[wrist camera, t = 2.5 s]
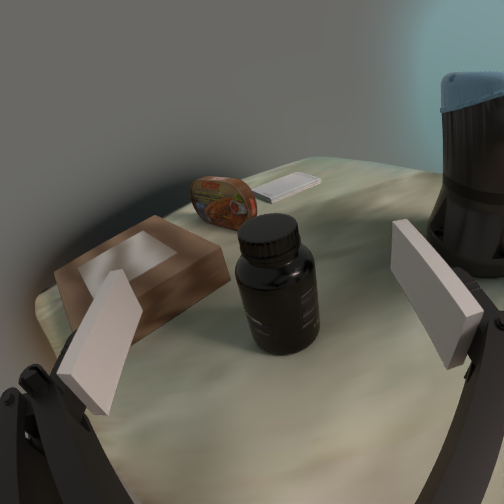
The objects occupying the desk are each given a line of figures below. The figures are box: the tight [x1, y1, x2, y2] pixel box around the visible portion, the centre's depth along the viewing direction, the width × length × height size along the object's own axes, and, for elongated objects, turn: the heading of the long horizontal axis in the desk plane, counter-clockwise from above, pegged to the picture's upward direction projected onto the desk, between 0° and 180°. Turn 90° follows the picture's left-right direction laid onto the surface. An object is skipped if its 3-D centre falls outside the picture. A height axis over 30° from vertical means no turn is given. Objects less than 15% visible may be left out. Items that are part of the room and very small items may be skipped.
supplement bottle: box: [235, 213, 320, 355], centre depth 28 cm, size 7×7×12 cm
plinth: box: [54, 215, 231, 346], centre depth 41 cm, size 20×20×5 cm
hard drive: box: [251, 172, 321, 203], centre depth 63 cm, size 2×8×12 cm
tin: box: [190, 176, 257, 230], centre depth 53 cm, size 15×3×8 cm, turn 46°
